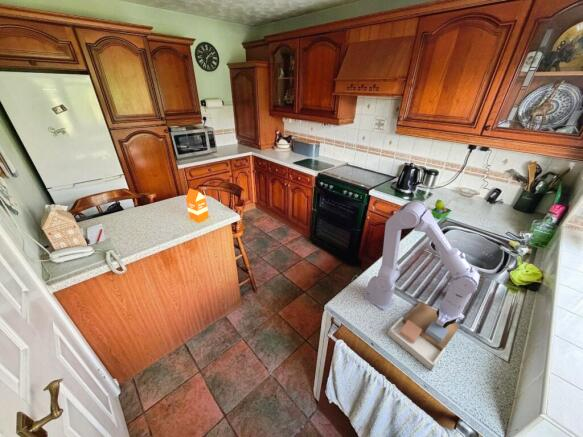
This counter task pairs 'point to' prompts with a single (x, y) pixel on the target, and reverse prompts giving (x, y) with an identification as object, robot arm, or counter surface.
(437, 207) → the fruit basket
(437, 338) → the slate tile
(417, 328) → the terracotta tile
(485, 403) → the counter surface
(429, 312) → the oak board
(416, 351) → the tray
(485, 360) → the counter surface
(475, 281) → the robot arm
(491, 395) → the counter surface
